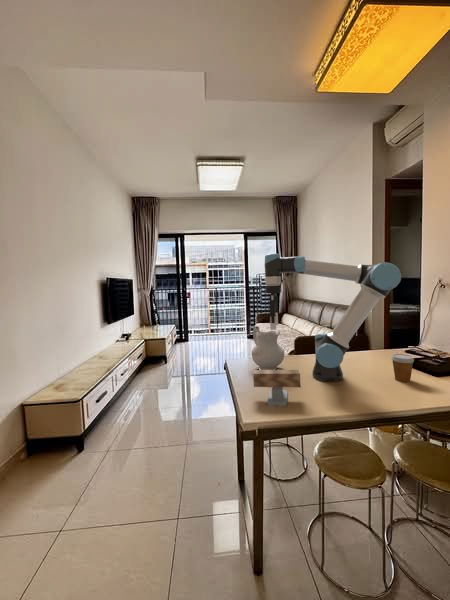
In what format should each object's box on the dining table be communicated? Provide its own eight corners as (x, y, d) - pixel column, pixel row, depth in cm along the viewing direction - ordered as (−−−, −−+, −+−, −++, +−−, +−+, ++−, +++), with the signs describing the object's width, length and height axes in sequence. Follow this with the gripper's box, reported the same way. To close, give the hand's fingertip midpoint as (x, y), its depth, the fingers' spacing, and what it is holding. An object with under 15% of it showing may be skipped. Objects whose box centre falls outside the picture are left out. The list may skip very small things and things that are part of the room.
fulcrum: (287, 392, 124) (287, 380, 123) (286, 406, 110) (286, 392, 110) (270, 391, 126) (269, 379, 126) (267, 405, 112) (266, 391, 112)
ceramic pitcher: (243, 370, 161) (239, 330, 157) (260, 360, 175) (258, 323, 172) (274, 378, 146) (271, 334, 143) (291, 366, 161) (288, 325, 158)
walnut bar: (298, 382, 120) (298, 369, 119) (300, 387, 115) (300, 373, 115) (253, 382, 122) (253, 369, 122) (253, 386, 117) (253, 373, 117)
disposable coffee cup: (411, 377, 135) (412, 354, 135) (416, 384, 127) (416, 359, 126) (390, 375, 139) (389, 353, 139) (392, 382, 131) (392, 358, 130)
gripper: (267, 285, 147) (269, 323, 148) (262, 286, 122) (264, 331, 124) (281, 284, 145) (283, 323, 146) (279, 285, 121) (280, 331, 122)
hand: (274, 327), depth 135 cm, fingers open, 13 cm apart
